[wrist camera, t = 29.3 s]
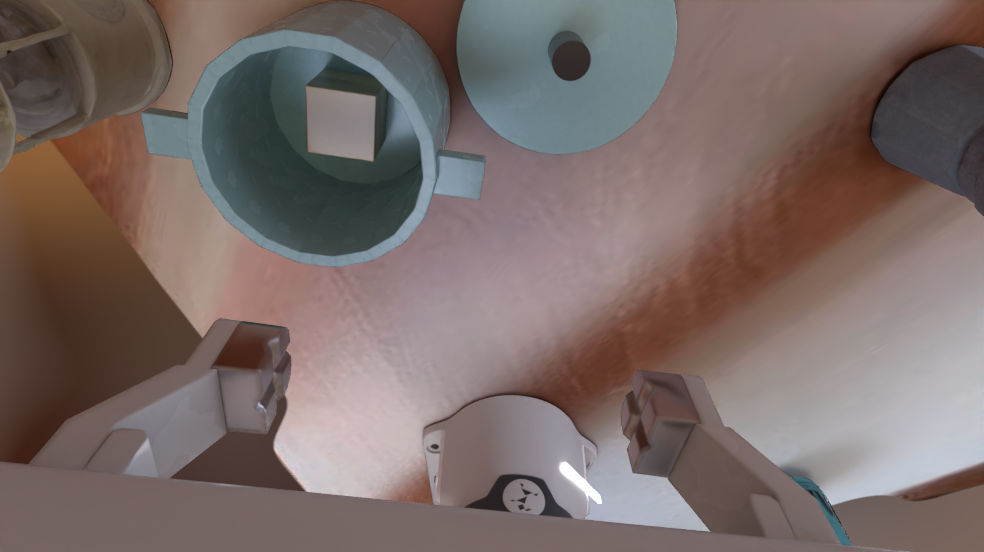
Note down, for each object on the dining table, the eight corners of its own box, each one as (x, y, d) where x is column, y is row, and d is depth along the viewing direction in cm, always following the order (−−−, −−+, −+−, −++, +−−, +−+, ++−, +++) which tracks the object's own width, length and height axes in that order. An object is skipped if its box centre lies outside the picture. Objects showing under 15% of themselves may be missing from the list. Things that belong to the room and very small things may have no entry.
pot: (474, 205, 45) (467, 284, 35) (233, 171, 44) (158, 245, 34) (500, 24, 38) (500, 62, 28) (212, -23, 36) (109, 1, 27)
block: (385, 139, 42) (374, 162, 38) (324, 131, 41) (307, 152, 38) (388, 78, 39) (376, 95, 35) (323, 68, 39) (304, 85, 35)
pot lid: (638, 160, 43) (652, 185, 39) (448, 135, 42) (442, 158, 38) (703, -61, 35) (729, -58, 31) (469, -99, 34) (466, -100, 30)
